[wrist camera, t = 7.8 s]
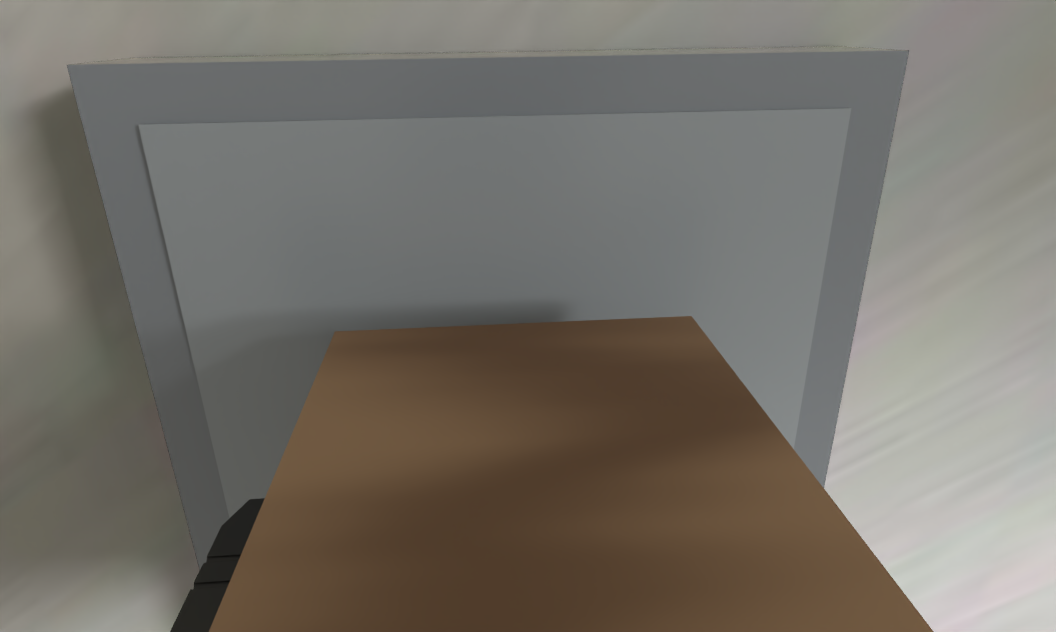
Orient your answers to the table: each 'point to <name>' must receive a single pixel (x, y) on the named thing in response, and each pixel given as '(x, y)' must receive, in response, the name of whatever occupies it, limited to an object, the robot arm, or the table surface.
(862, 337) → the table surface
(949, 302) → the table surface
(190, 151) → the slate coaster
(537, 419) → the walnut block
